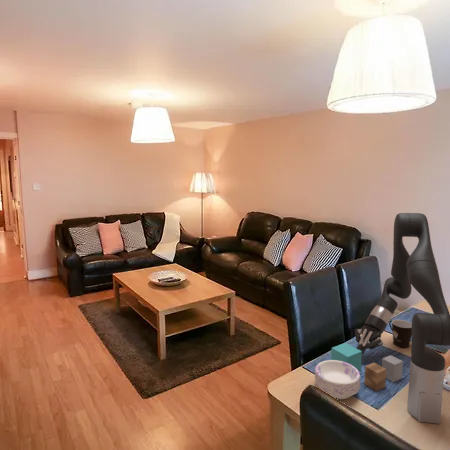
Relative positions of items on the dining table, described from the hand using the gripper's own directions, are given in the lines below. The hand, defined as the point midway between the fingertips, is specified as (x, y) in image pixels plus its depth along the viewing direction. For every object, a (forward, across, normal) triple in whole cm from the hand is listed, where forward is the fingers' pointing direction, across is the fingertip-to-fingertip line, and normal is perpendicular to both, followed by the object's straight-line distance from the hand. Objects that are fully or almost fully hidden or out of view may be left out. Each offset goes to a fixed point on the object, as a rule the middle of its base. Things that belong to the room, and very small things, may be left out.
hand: (357, 354), depth 137 cm
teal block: (+8, 0, -2) cm, 8 cm away
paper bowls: (+18, +8, -12) cm, 23 cm away
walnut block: (+8, +13, -2) cm, 15 cm away
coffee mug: (-19, -1, +24) cm, 31 cm away
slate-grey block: (+1, +13, +5) cm, 14 cm away
